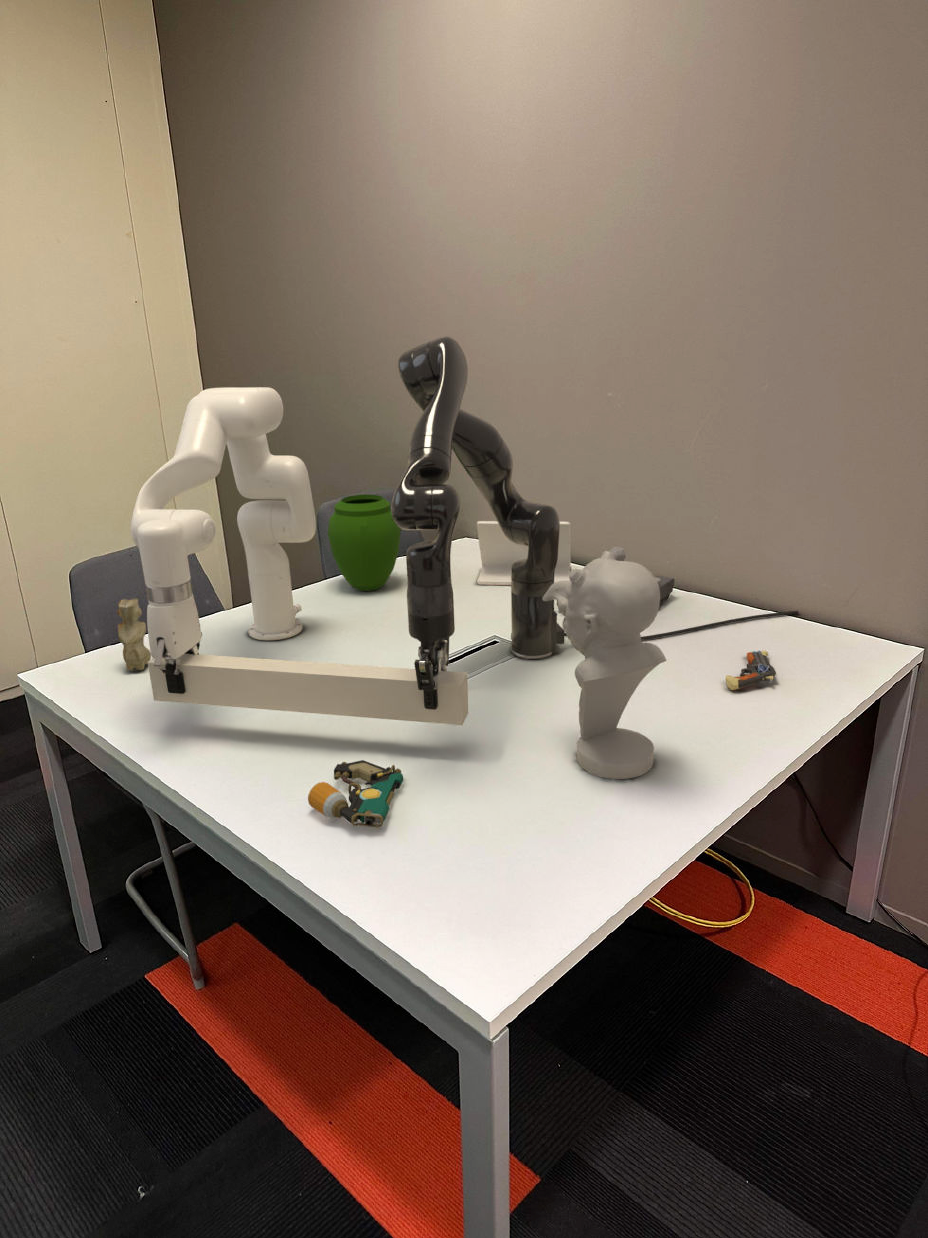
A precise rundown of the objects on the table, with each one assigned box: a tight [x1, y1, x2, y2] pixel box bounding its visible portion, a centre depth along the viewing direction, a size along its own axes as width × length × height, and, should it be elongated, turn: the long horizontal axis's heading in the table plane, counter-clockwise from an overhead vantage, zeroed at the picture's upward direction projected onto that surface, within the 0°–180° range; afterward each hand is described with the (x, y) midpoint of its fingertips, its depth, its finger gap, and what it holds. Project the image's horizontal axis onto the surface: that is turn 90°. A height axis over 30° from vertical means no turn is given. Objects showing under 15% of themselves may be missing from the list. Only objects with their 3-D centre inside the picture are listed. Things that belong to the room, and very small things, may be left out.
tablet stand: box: [476, 520, 572, 586], centre depth 236 cm, size 18×25×17 cm
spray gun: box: [307, 759, 404, 829], centre depth 133 cm, size 4×17×15 cm
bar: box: [147, 653, 470, 726], centre depth 149 cm, size 57×5×8 cm, turn 77°
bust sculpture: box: [543, 550, 667, 780], centre depth 141 cm, size 16×24×35 cm, turn 28°
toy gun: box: [725, 650, 778, 691], centre depth 173 cm, size 3×19×10 cm
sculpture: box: [116, 597, 152, 672], centre depth 183 cm, size 6×7×15 cm
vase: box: [327, 494, 402, 592], centre depth 229 cm, size 20×20×24 cm
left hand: (184, 685), depth 155 cm, fingers closed on bar, 4 cm apart
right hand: (435, 700), depth 144 cm, fingers closed on bar, 4 cm apart
